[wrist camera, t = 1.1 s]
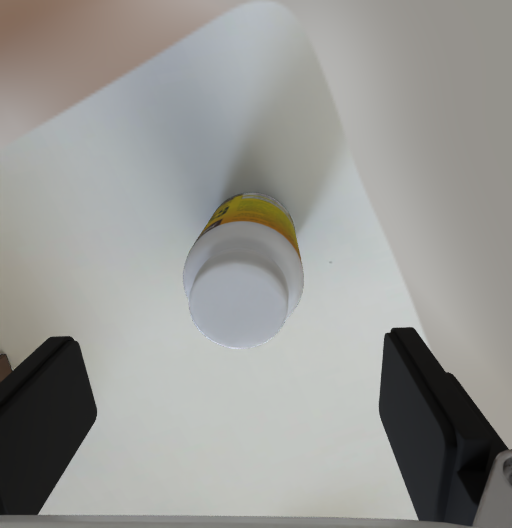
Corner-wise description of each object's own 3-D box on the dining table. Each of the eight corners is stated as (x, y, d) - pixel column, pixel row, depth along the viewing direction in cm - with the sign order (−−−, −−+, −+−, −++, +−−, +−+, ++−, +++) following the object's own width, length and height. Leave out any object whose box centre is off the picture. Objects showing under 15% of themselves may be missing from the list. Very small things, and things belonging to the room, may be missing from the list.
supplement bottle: (229, 175, 22) (197, 214, 12) (309, 212, 23) (336, 276, 13) (197, 252, 24) (149, 336, 14) (272, 284, 25) (272, 384, 15)
